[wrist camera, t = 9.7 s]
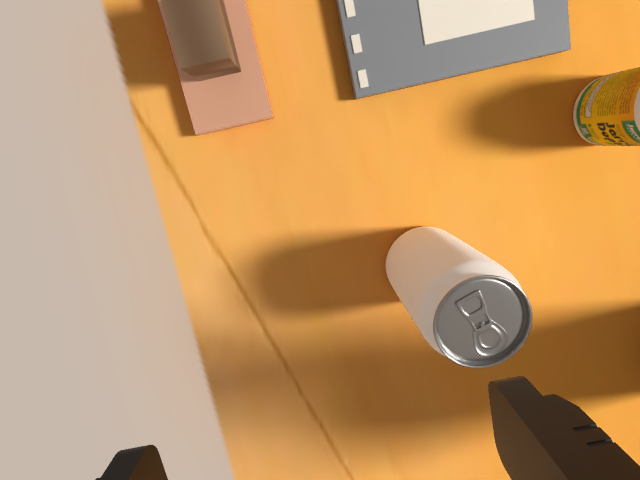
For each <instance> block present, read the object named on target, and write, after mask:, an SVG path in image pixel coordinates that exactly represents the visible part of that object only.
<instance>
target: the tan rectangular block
mask: <svg viewBox="0 0 640 480" xmlns="http://www.w3.org/2000/svg"><path fill="white" fill-rule="evenodd" d="M157 1H158V5H159V8H160V12H161V15H162V19H163V22H164V26H165V29H166V33H167V36H168V40H169V43H170V47H171V50H172V54H173V57H174V61H175V64H176V68H177V71H178V75H179V78H180V82H181V85H182V89H183V92H184V96H185V100H186V103H187V107H188V110H189V114H190V117H191V121H192V124H193V128H194V131H195V135H203V134H207V133H212V132H216V131H220V130H225V129H229V128H233V127H238V126H242V125H246V124H251V123H255V122H259V121H264V120H268V119H272V118H274V117H273V113H272V109H271V105H270V101H269V97H268V92H267V88H266V84H265V80H264V76H263V71H262V67H261V63H260V59H259V55H258V51H257V46H256V42H255V38H254V34H253V30H252V25H251V21H250V17H249V13H248V9H247V5H246V0H157Z"/></svg>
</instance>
